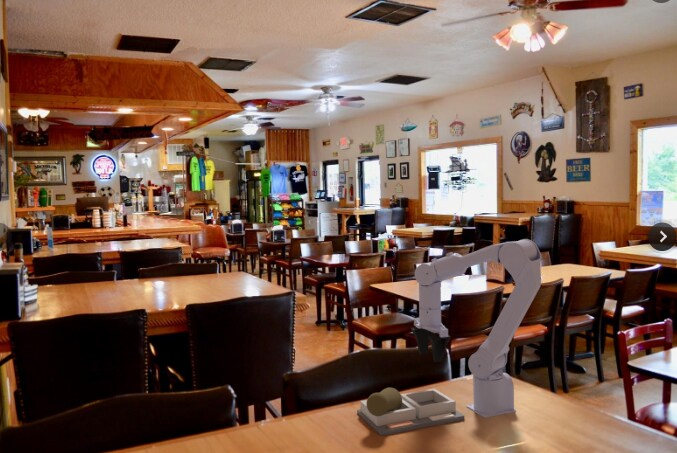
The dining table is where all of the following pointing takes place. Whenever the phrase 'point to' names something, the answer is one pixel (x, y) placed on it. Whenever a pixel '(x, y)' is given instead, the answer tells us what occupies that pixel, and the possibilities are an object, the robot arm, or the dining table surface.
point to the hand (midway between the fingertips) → (430, 357)
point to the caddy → (414, 413)
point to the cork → (384, 402)
